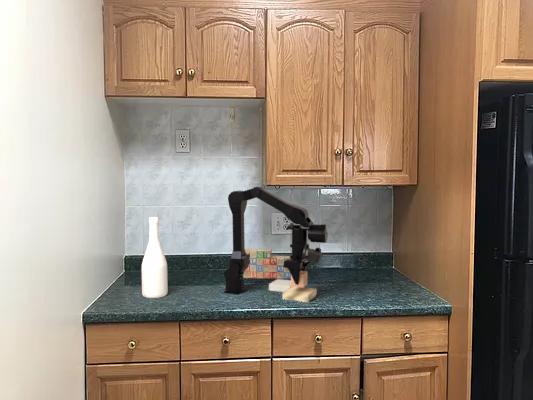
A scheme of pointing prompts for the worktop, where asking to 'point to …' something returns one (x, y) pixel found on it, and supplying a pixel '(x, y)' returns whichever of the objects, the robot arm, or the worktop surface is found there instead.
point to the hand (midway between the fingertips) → (299, 282)
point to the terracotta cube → (300, 280)
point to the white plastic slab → (280, 285)
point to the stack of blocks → (266, 265)
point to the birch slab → (299, 294)
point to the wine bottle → (154, 265)
